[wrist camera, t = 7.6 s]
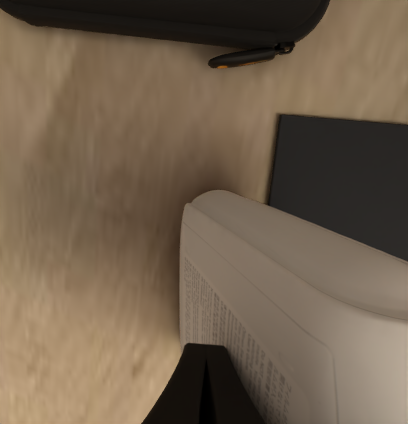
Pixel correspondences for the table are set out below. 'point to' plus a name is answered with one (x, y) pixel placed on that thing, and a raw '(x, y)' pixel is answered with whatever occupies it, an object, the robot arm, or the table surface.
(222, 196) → the photo printer
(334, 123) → the desk pad
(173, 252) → the table surface
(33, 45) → the table surface
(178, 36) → the carrying case
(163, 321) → the table surface
